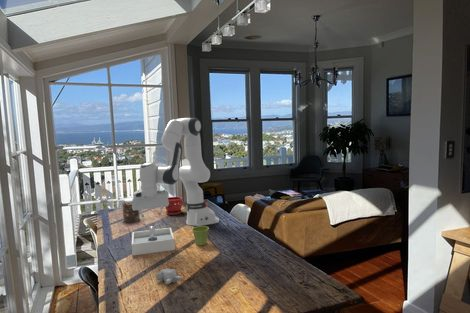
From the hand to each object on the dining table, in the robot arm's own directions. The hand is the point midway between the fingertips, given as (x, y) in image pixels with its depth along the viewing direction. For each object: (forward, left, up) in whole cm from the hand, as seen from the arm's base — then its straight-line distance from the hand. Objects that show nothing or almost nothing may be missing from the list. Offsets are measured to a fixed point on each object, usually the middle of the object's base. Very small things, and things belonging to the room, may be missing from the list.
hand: (151, 215), depth 199 cm
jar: (+13, -60, -17) cm, 63 cm away
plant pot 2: (-26, +10, -17) cm, 32 cm away
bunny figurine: (-5, +52, -17) cm, 55 cm away
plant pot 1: (-18, -65, -17) cm, 69 cm away
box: (0, +3, -16) cm, 17 cm away
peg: (0, 0, -16) cm, 16 cm away
